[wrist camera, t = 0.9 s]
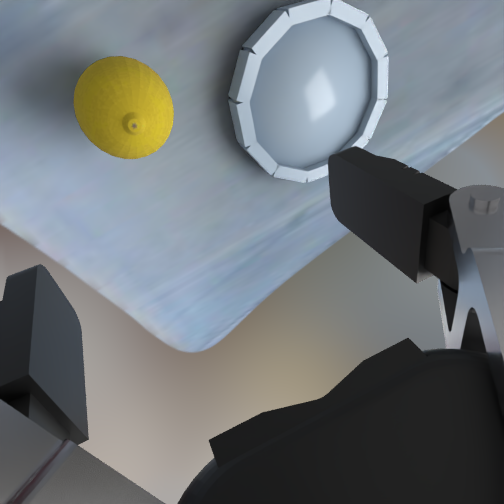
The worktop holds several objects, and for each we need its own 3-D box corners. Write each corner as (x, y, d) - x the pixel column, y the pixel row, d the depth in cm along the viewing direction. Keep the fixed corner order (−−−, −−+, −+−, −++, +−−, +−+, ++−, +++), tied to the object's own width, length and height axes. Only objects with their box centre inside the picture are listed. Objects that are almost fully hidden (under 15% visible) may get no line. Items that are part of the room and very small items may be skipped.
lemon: (73, 39, 24) (77, 54, 17) (164, 61, 26) (196, 80, 20) (70, 130, 26) (73, 171, 20) (153, 142, 28) (179, 182, 22)
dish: (211, 25, 26) (220, 27, 25) (374, -19, 29) (390, -20, 27) (248, 193, 34) (256, 202, 32) (373, 146, 36) (386, 152, 35)
